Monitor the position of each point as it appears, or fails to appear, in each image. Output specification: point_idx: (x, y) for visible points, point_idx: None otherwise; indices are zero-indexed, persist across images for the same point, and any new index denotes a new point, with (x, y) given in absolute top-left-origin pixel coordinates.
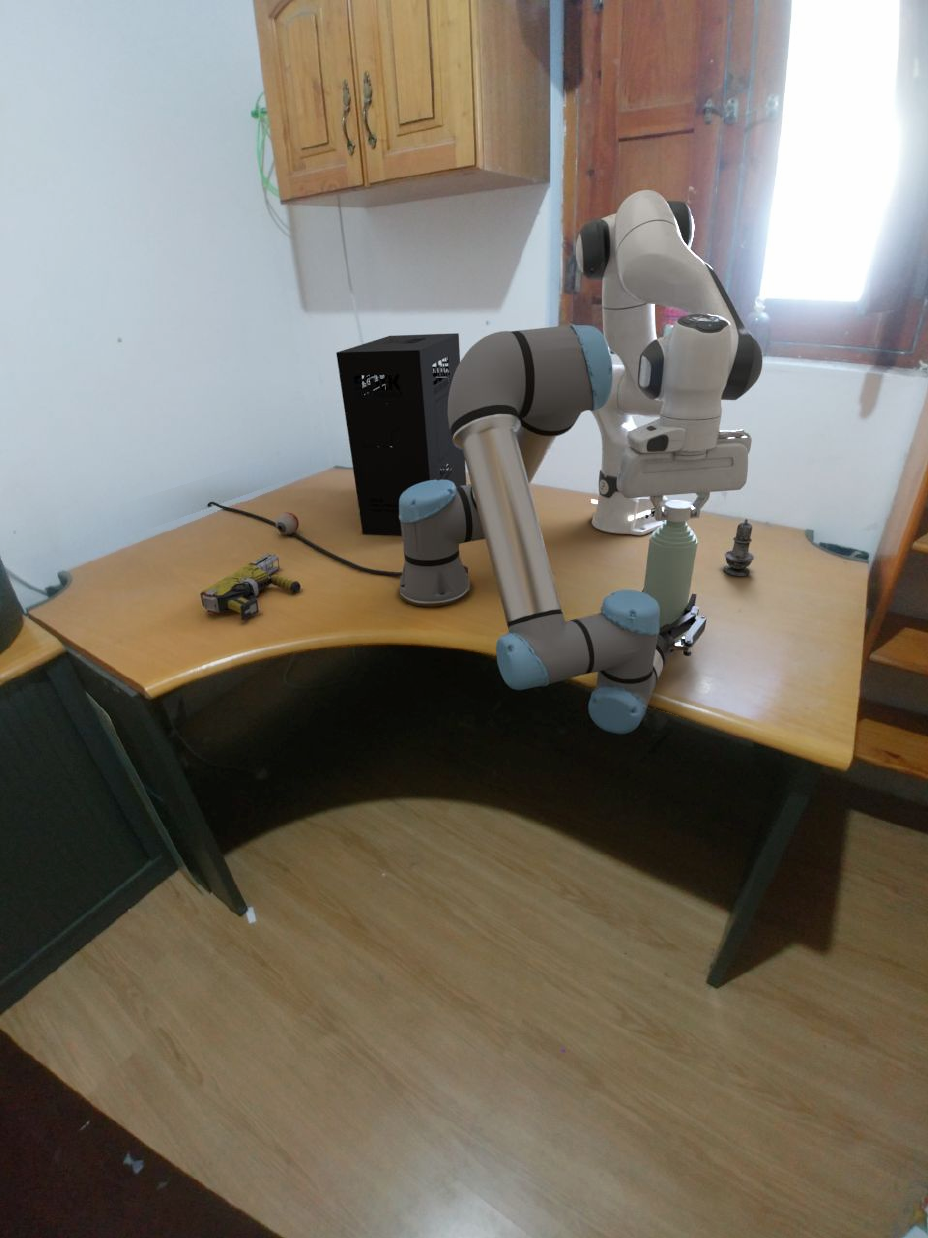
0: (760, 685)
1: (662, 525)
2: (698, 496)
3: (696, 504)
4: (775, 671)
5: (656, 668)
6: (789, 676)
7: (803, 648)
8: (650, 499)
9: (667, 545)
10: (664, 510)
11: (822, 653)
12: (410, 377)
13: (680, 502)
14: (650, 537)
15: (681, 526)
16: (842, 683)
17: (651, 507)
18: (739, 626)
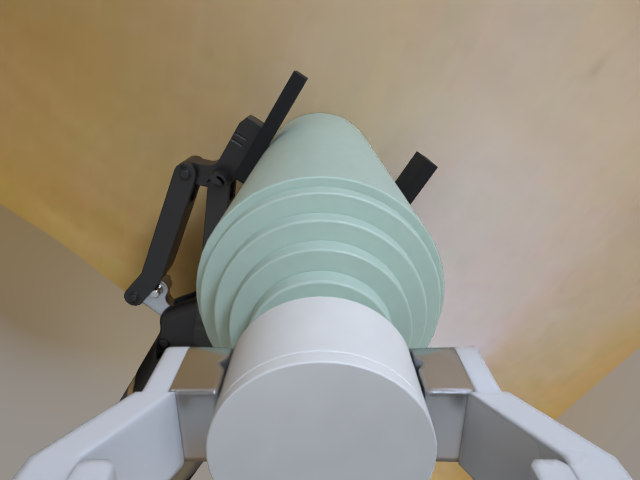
0: None
1: (255, 291)
2: (544, 458)
3: (480, 451)
4: (496, 331)
5: (195, 470)
6: (511, 348)
7: (612, 267)
8: (43, 456)
9: None
10: (200, 449)
11: (635, 289)
12: None
13: (355, 431)
14: (203, 261)
15: None
16: (588, 378)
17: None
18: (540, 153)
